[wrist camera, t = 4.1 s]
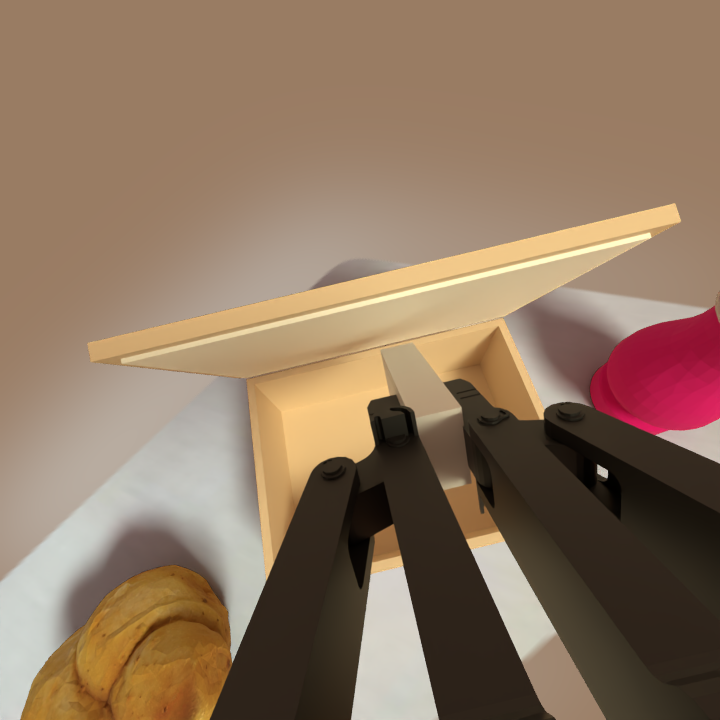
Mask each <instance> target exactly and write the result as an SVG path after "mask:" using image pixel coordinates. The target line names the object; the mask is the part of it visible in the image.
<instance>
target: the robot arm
mask: <svg viewBox="0 0 720 720" xmlns="http://www.w3.org/2000/svg"><path fill="white" fill-rule="evenodd" d="M380 351H381V356H382V361H383V366H384V370H385V375H386V380H387V385H388V390H389V394H390V396H387V397H383V398H379V399H374V400H371V401H370V403H369V405H368V407H367V410H368V414H369V419H370V424H371V429H372V433H373V437H374V441H375V447H374V450H373V451H372V452H371V454H370V455H369V456H367V457H366V458H365V459H363V460H361V461H359V462H357V463H355V462H354V461H353V460H352V459H350V458H347V457H334V458H329V459H327V460H325V461H323V462H321V463H319V464H318V465H317V466H316V467H315V468H314V469H313V471H312V472H311V474H310V476H309V479H308V481H307V483H306V486H305V488H304V491H303V493H302V496H301V498H300V500H299V503H298V505H297V508H296V510H295V513H294V515H293V518H292V520H291V522H290V525H289V527H288V530H287V532H286V535H285V537H284V539H283V542H282V544H281V547H280V549H279V552H278V554H277V556H276V559H275V561H274V564H273V566H272V569H271V571H270V574H269V576H268V578H267V581H266V583H265V586H264V588H263V591H262V593H261V595H260V598H259V600H258V603H257V605H256V608H255V610H254V612H253V615H252V617H251V620H250V622H249V625H248V627H247V630H246V632H245V634H244V637H243V639H242V642H241V644H240V647H239V649H238V651H237V654H236V656H235V659H234V661H233V664H232V666H231V668H230V671H229V673H228V676H227V678H226V681H225V683H224V686H223V688H222V690H221V693H220V695H219V698H218V700H217V703H216V705H215V707H214V710H213V712H212V715H211V717H210V720H351V715H352V708H353V700H354V693H355V686H356V678H357V671H358V663H359V656H360V649H361V641H362V634H363V626H364V619H365V611H366V604H367V597H368V589H369V582H370V574H371V567H372V560H373V552H374V545H375V537H374V535H375V534H376V533H378V532H380V531H382V530H384V529H386V528H387V527H389V526H391V525H393V524H394V527H395V532H396V536H397V540H398V545H399V549H400V553H401V558H402V562H403V566H404V570H405V575H406V579H407V583H408V588H409V592H410V596H411V601H412V605H413V609H414V614H415V618H416V622H417V626H418V631H419V635H420V639H421V644H422V648H423V652H424V657H425V661H426V665H427V669H428V674H429V678H430V682H431V687H432V691H433V695H434V700H435V704H436V708H437V713H438V717H439V720H556V719H555V718H554V717H553V716H552V715H550V714H549V713H547V712H546V711H545V710H544V708H543V707H542V705H541V703H540V701H539V699H538V697H537V695H536V693H535V691H534V689H533V686H532V684H531V682H530V680H529V678H528V675H527V673H526V671H525V669H524V666H523V664H522V662H521V660H520V658H519V655H518V653H517V651H516V649H515V647H514V644H513V642H512V640H511V638H510V636H509V633H508V631H507V629H506V627H505V625H504V622H503V620H502V618H501V616H500V614H499V611H498V609H497V607H496V605H495V603H494V600H493V598H492V596H491V594H490V591H489V589H488V587H487V585H486V583H485V580H484V578H483V576H482V574H481V572H480V569H479V567H478V565H477V563H476V561H475V558H474V556H473V554H472V552H471V550H470V547H469V545H468V543H467V541H466V539H465V536H464V534H463V532H462V530H461V527H460V525H459V523H458V521H457V519H456V516H455V514H454V512H453V510H452V508H451V505H450V503H449V501H448V499H447V497H446V494H445V492H444V490H446V489H450V488H455V487H459V486H463V485H467V484H471V483H472V480H471V473H470V470H471V471H472V473H473V475H474V477H475V478H476V485H477V493H478V500H479V508H480V512H481V514H484V505H485V507H486V508H487V510H488V512H489V514H490V515H491V517H492V519H493V521H494V522H495V524H496V526H497V528H498V530H499V531H500V533H501V535H502V537H503V538H504V540H505V542H506V544H507V545H508V547H509V549H510V551H511V552H512V554H513V556H514V558H515V559H516V561H517V563H518V565H519V566H520V568H521V570H522V572H523V574H524V575H525V577H526V579H527V581H528V582H529V584H530V586H531V588H532V589H533V591H534V593H535V595H536V596H537V598H538V600H539V602H540V603H541V605H542V607H543V609H544V610H545V612H546V614H547V616H548V618H549V619H550V621H551V623H552V625H553V626H554V628H555V630H556V632H557V633H558V635H559V637H560V639H561V640H562V642H563V644H564V646H565V647H566V649H567V651H568V653H569V654H570V656H571V658H572V660H573V661H574V663H575V665H576V667H577V668H578V670H579V672H580V674H581V675H582V677H583V679H584V681H585V683H586V684H587V686H588V688H589V690H590V691H591V693H592V695H593V697H594V698H595V700H596V702H597V704H598V705H599V707H600V709H601V711H602V712H603V714H604V716H605V718H606V720H720V464H719V463H717V462H715V461H712V460H710V459H708V458H706V457H703V456H701V455H699V454H696V453H694V452H692V451H690V450H687V449H685V448H683V447H680V446H678V445H676V444H674V443H671V442H669V441H667V440H664V439H662V438H660V437H658V436H655V435H653V434H651V433H648V432H646V431H644V430H642V429H639V428H637V427H635V426H632V425H630V424H628V423H626V422H623V421H621V420H619V419H616V418H614V417H612V416H610V415H607V414H605V413H603V412H600V411H598V410H596V409H594V408H591V407H589V406H586V405H583V404H580V403H572V402H565V403H564V402H562V403H557V404H553V405H551V406H549V407H547V408H546V409H545V411H544V413H543V414H544V420H518V419H517V418H516V417H515V416H514V415H513V414H512V413H511V412H509V411H508V410H506V409H502V408H495V407H493V406H492V405H491V404H490V403H489V402H488V401H487V400H486V399H485V398H484V397H483V395H482V394H480V392H479V391H478V390H476V388H475V387H474V386H473V385H472V384H471V383H470V382H468V381H466V380H463V379H455V380H451V381H447V382H442V381H441V379H440V378H439V377H438V375H437V374H436V373H435V371H434V370H433V369H432V368H431V366H430V365H429V364H428V362H427V361H426V360H425V358H424V357H423V356H422V354H421V353H420V352H419V350H418V349H417V348H416V346H415V345H414V344H413V342H412V343H407V344H403V345H399V346H395V347H390V348H386V349H382V350H380ZM597 464H598V465H600V466H601V467H603V468H605V469H607V470H608V478H604V477H602V476H601V475H599V474H597Z"/></svg>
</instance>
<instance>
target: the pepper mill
mask: <svg viewBox="0 0 720 720" xmlns="http://www.w3.org/2000/svg"><path fill="white" fill-rule="evenodd" d="M590 394H591V398H592V402H593V404H594V406H595V408H596V410H598V411H600V412H603V413H605V414H607V415H610V416H612V417H614V418H616V419H619V420H621V421H623V422H626V423H628V424H630V425H632V426H635V427H637V428H639V429H642V430H644V431H646V432H648V433H651V434H653V435H656V434H659V433H662V432H665V431H668V430H690V429H696V428H699V427H703V426H705V425H707V424H709V423H711V422H713V421H716V420H718V419H719V418H720V291H719V292H718V295H717V297H716V303H715V306H714V307H712V308H711V309H709V310H707V311H706V312H704V313H702V314H700V315H697V316H694V317H691V318H686V319H680V320H674V321H668V322H662V323H659V324H655V325H652V326H649V327H646V328H643V329H641V330H639V331H637V332H635V333H634V334H632V335H630V336H629V337H627V338H626V339H624V340H622V341H621V342H620V343H619V344H618V345H617V346H616V347H615V349H614V350H613V352H612V353H611V355H610V357H609V361H608V362H607V363H605V364H604V365H603V366H602V367H600V368H599V369H598V370H597V371H596V372H595V374H594V375H593V377H592V380H591V385H590Z"/></svg>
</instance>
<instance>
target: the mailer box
mask: <svg viewBox="0 0 720 720" xmlns="http://www.w3.org/2000/svg"><path fill="white" fill-rule="evenodd" d="M412 342H413V344H414V345H415V346H416V348H417V349H418V350H419V352H420V353H421V354H422V356H423V357H424V358H425V360H426V361H427V362H428V364H429V365H430V366H431V368H432V369H433V370H434V371H435V373H436V374H437V375H438V377H439V378H440V379H441V381H442V382H447V381H451V380H455V379H463V380H466V381H468V382H470V383H471V384H472V385H473V386H474V387H475V388H476V390H478V391H479V392H480V394H482V395H483V397H484V398H485V399H486V400H487V401H488V402H489V403H490V404H491V405H492V406H493V407H495V408H502V409H506V410H508V411H509V412H511V413H512V414H513V415H514V416H515V417H516V418H517V419H518V420H544V414H543V413H544V411H545V410H544V408H543V406H542V403H541V401H540V399H539V397H538V395H537V392H536V390H535V388H534V386H533V383H532V381H531V379H530V377H529V375H528V372H527V370H526V368H525V366H524V363H523V361H522V359H521V357H520V355H519V352H518V350H517V348H516V346H515V343H514V341H513V339H512V337H511V335H510V332H509V330H508V328H507V326H506V323H505V321H504V319H503V318H501V319H496V320H492V321H488V322H484V323H480V324H476V325H471V326H467V327H463V328H459V329H455V330H450V331H446V332H442V333H438V334H434V335H430V336H425V337H421V338H417V339H413V340H409V341H405V342H400V343H396V344H392V345H388V346H384V347H380V348H375V349H371V350H367V351H363V352H359V353H355V354H350V355H346V356H342V357H338V358H334V359H329V360H325V361H321V362H317V363H313V364H309V365H304V366H300V367H296V368H292V369H288V370H284V371H279V372H275V373H271V374H267V375H263V376H259V377H254V378H250V379H246V380H247V390H248V400H249V411H250V421H251V431H252V441H253V451H254V461H255V471H256V482H257V492H258V502H259V512H260V522H261V532H262V542H263V553H264V563H265V573H266V581H267V578H268V576H269V574H270V571H271V569H272V566H273V564H274V561H275V559H276V556H277V554H278V552H279V549H280V547H281V544H282V542H283V539H284V537H285V535H286V532H287V530H288V527H289V525H290V522H291V520H292V518H293V515H294V513H295V510H296V508H297V505H298V503H299V500H300V498H301V496H302V493H303V491H304V488H305V486H306V483H307V481H308V479H309V476H310V474H311V472H312V471H313V469H314V468H315V467H316V466H317V465H318V464H319V463H321V462H323V461H325V460H327V459H329V458H334V457H347V458H350V459H352V460H353V461H354V462H355V463H357V462H359V461H361V460H363V459H365V458H366V457H367V456H369V455H370V454H371V452H372V451H373V450H374V447H375V441H374V437H373V433H372V429H371V424H370V419H369V414H368V410H367V407H368V405H369V403H370V401H371V400H374V399H379V398H383V397H387V396H390V394H389V390H388V385H387V380H386V375H385V370H384V366H383V361H382V356H381V351H380V350H382V349H386V348H390V347H395V346H399V345H403V344H407V343H412ZM470 473H471V480H472V483H471V484H467V485H463V486H459V487H455V488H450V489H446V490H444V492H445V494H446V497H447V499H448V501H449V503H450V505H451V508H452V510H453V512H454V514H455V516H456V519H457V521H458V523H459V525H460V527H461V530H462V532H463V534H464V536H465V539H466V541H467V543H468V545H469V547H470V549H474V548H478V547H483V546H487V545H491V544H495V543H499V542H503V541H505V540H504V538H503V537H502V535H501V533H500V531H499V530H498V528H497V526H496V524H495V522H494V521H493V519H492V517H491V515H490V514H489V512H488V510H487V508H486V507H485V505H484V514H481V512H480V508H479V500H478V493H477V485H476V478H475V477H474V475H473V473H472V471H471V470H470ZM374 537H375V545H374V552H373V560H372V567H371V574H373V573H377V572H381V571H385V570H389V569H393V568H397V567H401V566H403V562H402V558H401V553H400V549H399V545H398V540H397V536H396V532H395V527H394V524H393V525H391V526H389V527H387V528H386V529H384V530H382V531H380V532H378V533H376V534H375V535H374Z"/></svg>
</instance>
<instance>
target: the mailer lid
mask: <svg viewBox="0 0 720 720" xmlns="http://www.w3.org/2000/svg"><path fill="white" fill-rule="evenodd" d="M679 222H681V220H680V217H679V214H678V211H677V208H676V205H675V204H671V205H667V206H662V207H658V208H654V209H650V210H646V211H641V212H637V213H633V214H629V215H625V216H620V217H616V218H612V219H607V220H603V221H599V222H595V223H591V224H587V225H583V226H578V227H574V228H570V229H565V230H561V231H557V232H553V233H549V234H544V235H541V236H536V237H532V238H528V239H523V240H519V241H515V242H511V243H507V244H502V245H498V246H494V247H490V248H485V249H482V250H477V251H473V252H469V253H464V254H460V255H456V256H452V257H448V258H443V259H439V260H435V261H431V262H426V263H422V264H418V265H414V266H410V267H405V268H401V269H397V270H393V271H389V272H384V273H380V274H376V275H372V276H368V277H363V278H359V279H355V280H351V281H346V282H342V283H338V284H334V285H330V286H325V287H321V288H317V289H313V290H309V291H304V292H300V293H296V294H292V295H288V296H283V297H279V298H275V299H271V300H267V301H262V302H258V303H254V304H250V305H246V306H241V307H237V308H233V309H229V310H225V311H220V312H216V313H212V314H208V315H203V316H199V317H195V318H191V319H187V320H182V321H179V322H174V323H170V324H166V325H161V326H157V327H153V328H149V329H144V330H141V331H136V332H132V333H128V334H123V335H119V336H115V337H111V338H107V339H103V340H98V341H94V342H90V343H87V344H88V350H89V355H90V361H91V362H94V363H103V364H113V365H122V366H131V367H140V368H150V369H160V370H168V371H177V372H187V373H196V374H205V375H214V376H223V377H233V378H250V377H254V376H258V375H262V374H267V373H271V372H275V371H279V370H283V369H287V368H292V367H296V366H300V365H304V364H308V363H313V362H317V361H321V360H325V359H329V358H333V357H338V356H342V355H346V354H350V353H354V352H358V351H363V350H367V349H371V348H375V347H379V346H383V345H388V344H392V343H396V342H400V341H404V340H409V339H413V338H417V337H421V336H425V335H429V334H434V333H438V332H442V331H446V330H450V329H454V328H459V327H463V326H467V325H471V324H475V323H479V322H484V321H488V320H492V319H496V318H500V317H504V316H506V315H508V314H510V313H511V312H513V311H515V310H517V309H519V308H521V307H523V306H525V305H526V304H528V303H530V302H532V301H534V300H536V299H538V298H539V297H541V296H543V295H545V294H547V293H549V292H551V291H553V290H554V289H556V288H558V287H560V286H562V285H564V284H566V283H568V282H569V281H571V280H573V279H575V278H577V277H579V276H581V275H582V274H584V273H586V272H588V271H590V270H592V269H594V268H596V267H597V266H599V265H601V264H603V263H605V262H607V261H609V260H610V259H612V258H614V257H616V256H618V255H620V254H622V253H623V252H625V251H627V250H629V249H631V248H633V247H635V246H637V245H639V244H640V243H642V242H644V241H646V240H648V239H650V238H651V237H653V236H655V235H657V234H659V233H661V232H663V231H664V230H666V229H668V228H670V227H672V226H674V225H676V224H677V223H679Z"/></svg>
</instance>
